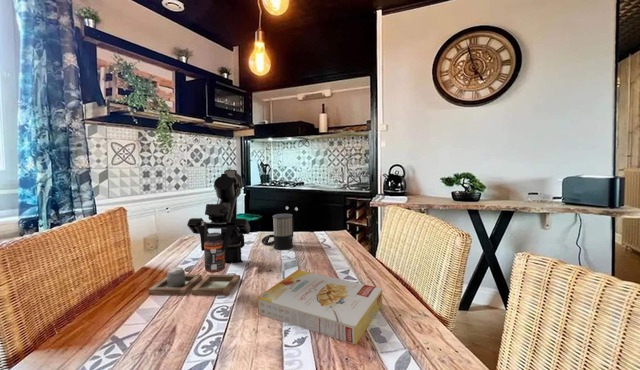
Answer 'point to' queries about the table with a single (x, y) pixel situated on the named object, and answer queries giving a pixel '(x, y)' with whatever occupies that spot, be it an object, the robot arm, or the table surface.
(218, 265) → the supplement bottle
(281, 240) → the milk frother
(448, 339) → the table surface
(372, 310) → the cereal box
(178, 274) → the seated grey knob
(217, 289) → the walnut twin holder
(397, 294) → the table surface
